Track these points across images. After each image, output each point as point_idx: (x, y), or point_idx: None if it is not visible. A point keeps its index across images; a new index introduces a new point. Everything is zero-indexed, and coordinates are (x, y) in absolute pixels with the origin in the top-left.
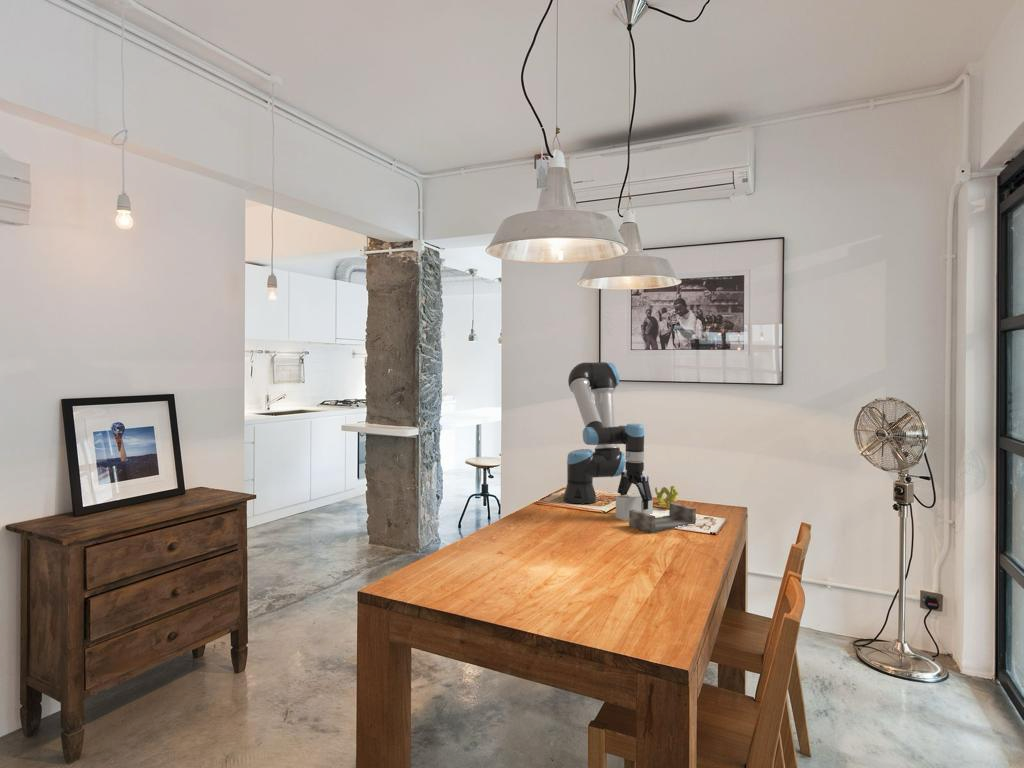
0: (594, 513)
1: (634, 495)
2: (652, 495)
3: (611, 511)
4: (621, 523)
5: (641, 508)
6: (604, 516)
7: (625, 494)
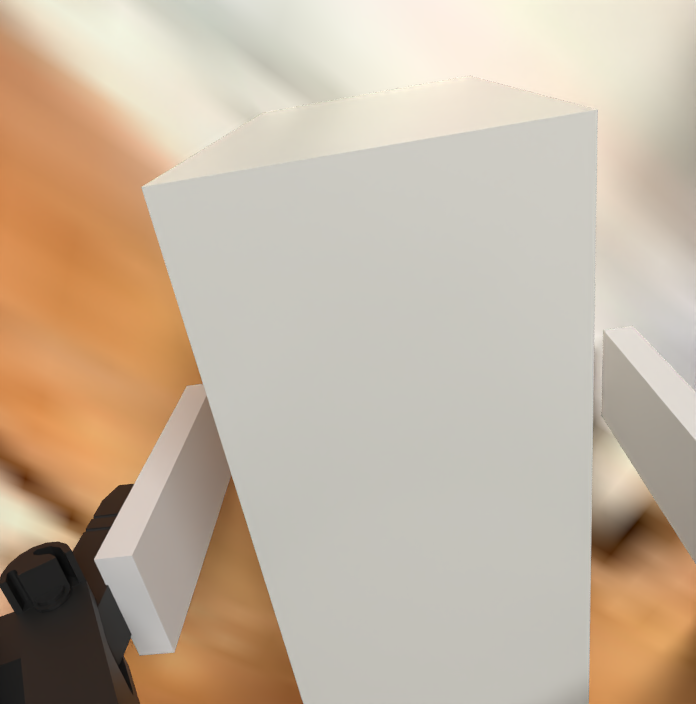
0: (132, 662)
1: (468, 659)
2: (583, 122)
3: (86, 494)
4: (592, 638)
5: (665, 498)
6: (277, 642)
7: (100, 605)
